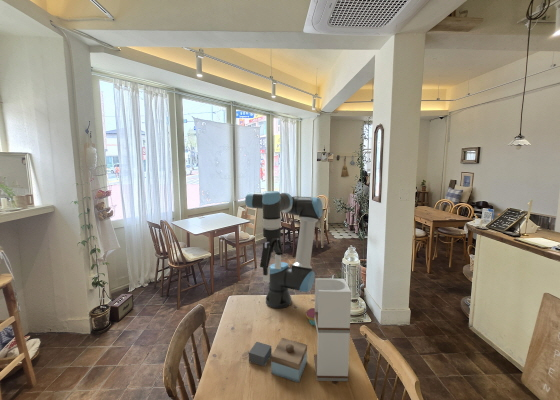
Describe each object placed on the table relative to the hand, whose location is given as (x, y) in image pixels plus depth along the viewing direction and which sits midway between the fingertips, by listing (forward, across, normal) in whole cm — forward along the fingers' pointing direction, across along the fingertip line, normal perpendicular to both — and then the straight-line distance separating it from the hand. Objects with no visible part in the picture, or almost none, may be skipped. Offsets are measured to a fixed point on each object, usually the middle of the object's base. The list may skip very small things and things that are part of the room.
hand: (272, 274), depth 108 cm
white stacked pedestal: (+32, +7, +27) cm, 43 cm away
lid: (+27, +11, +12) cm, 31 cm away
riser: (+32, +11, -2) cm, 34 cm away
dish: (+32, +12, +12) cm, 36 cm away
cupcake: (+33, -20, +15) cm, 41 cm away
